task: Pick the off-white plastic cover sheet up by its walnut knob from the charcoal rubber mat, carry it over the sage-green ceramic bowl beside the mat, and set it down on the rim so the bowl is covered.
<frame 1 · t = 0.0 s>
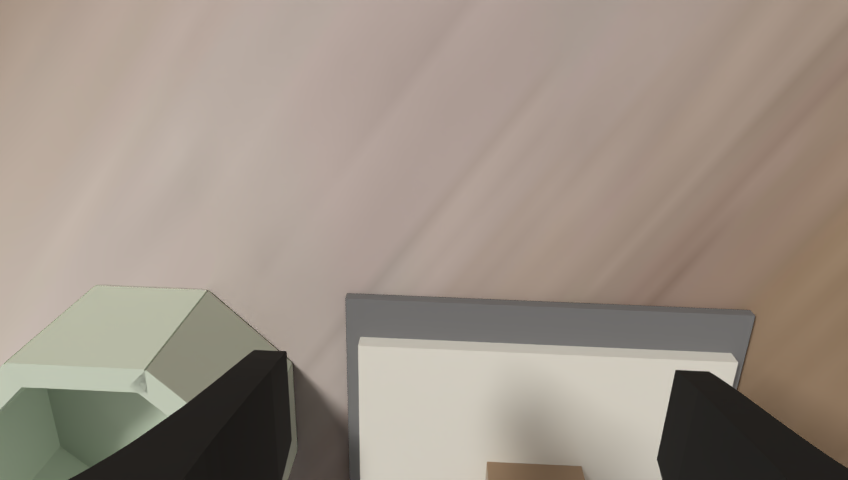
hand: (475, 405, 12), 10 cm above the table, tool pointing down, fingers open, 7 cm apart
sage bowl: (168, 402, 25), on the table
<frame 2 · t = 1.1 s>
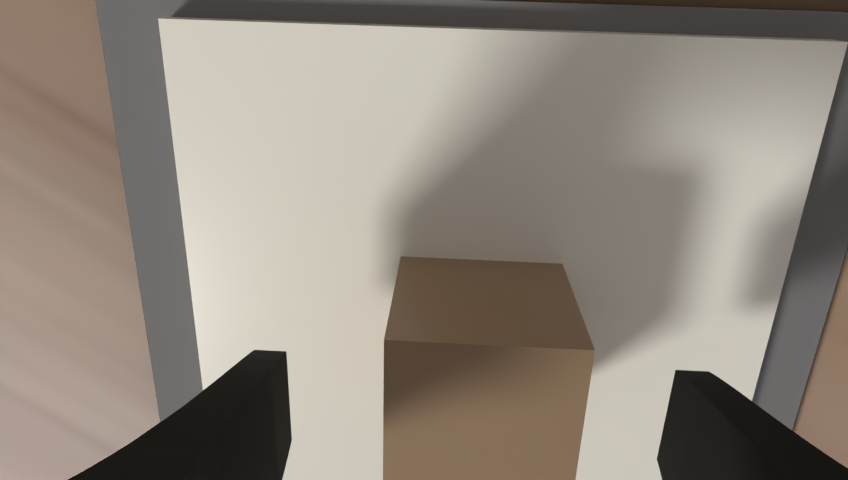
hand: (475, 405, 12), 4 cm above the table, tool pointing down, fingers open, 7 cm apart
charcoal mat: (475, 309, 15), on the table
cover sheet: (475, 317, 15), resting on charcoal mat
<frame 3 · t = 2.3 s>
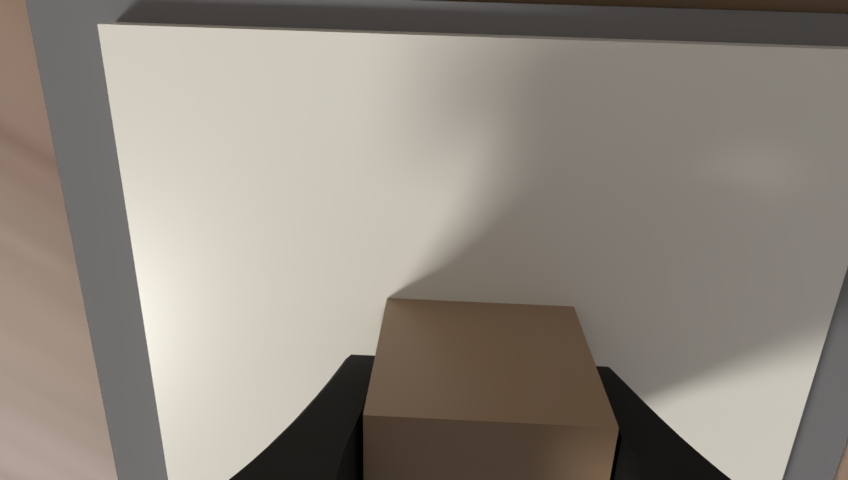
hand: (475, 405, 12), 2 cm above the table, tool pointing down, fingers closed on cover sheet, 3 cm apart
charcoal mat: (472, 353, 14), on the table
cover sheet: (473, 363, 13), resting on charcoal mat, touching gripper
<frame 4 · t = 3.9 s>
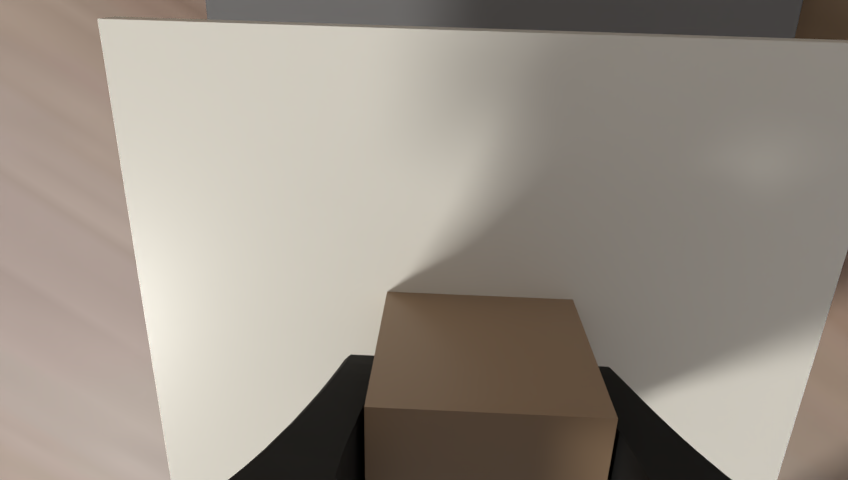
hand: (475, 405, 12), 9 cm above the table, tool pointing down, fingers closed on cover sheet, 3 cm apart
charcoal mat: (489, 153, 19), on the table
cover sheet: (473, 357, 13), point 7 cm above the table, touching gripper
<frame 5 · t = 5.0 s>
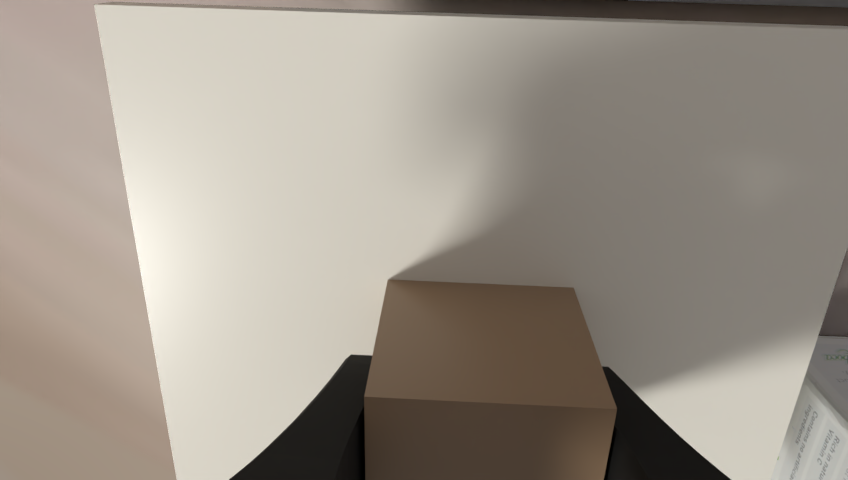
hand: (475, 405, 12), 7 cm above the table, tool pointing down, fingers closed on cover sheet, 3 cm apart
syrup box: (831, 406, 21), on the table
cover sheet: (473, 344, 13), point 6 cm above the table, touching gripper
when the fingers open (7 cm above the table, at t = 5.7 s): cover sheet stays where it is, resting on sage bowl.
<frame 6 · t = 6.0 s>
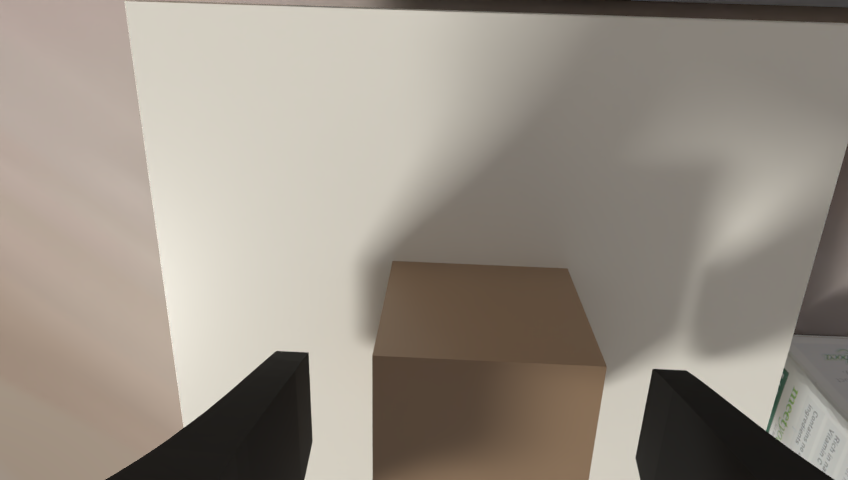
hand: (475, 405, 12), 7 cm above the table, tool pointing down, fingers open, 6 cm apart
syrup box: (832, 406, 21), on the table
cover sheet: (473, 326, 14), point 5 cm above the table, touching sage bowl
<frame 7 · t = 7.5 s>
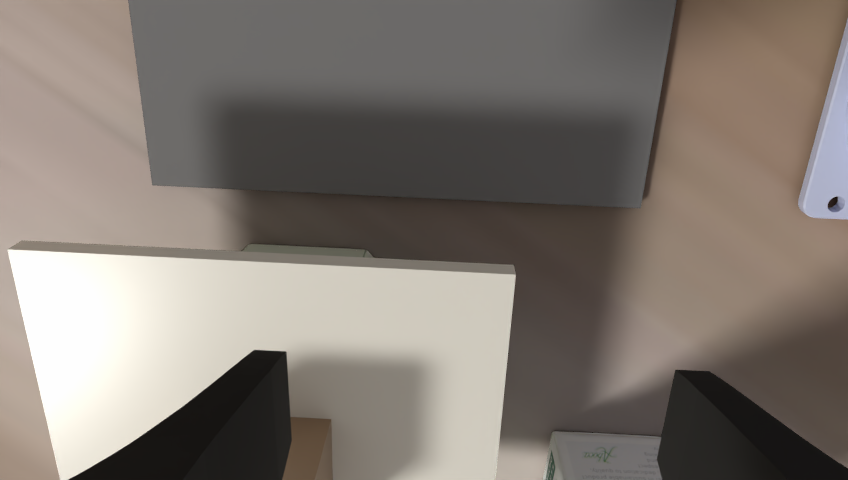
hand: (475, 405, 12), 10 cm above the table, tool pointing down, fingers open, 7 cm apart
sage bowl: (311, 366, 24), on the table
cover sheet: (278, 450, 19), point 5 cm above the table, touching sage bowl
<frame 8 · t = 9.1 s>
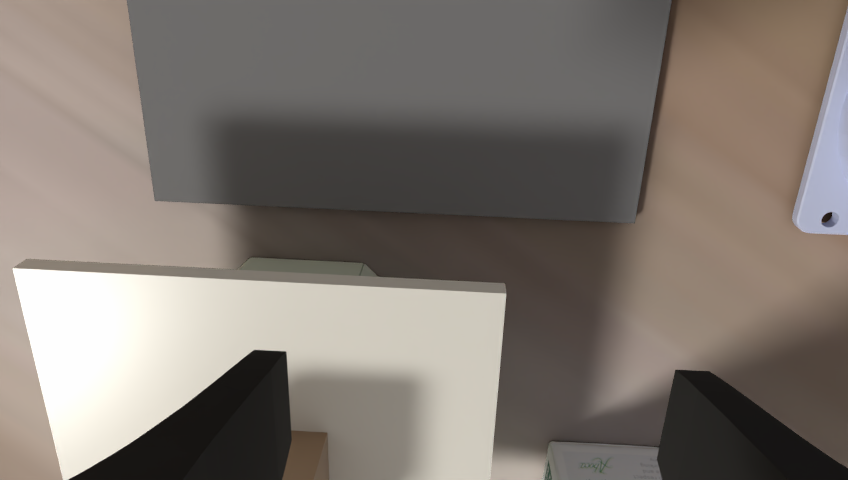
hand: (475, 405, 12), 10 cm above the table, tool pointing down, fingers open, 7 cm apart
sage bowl: (312, 377, 24), on the table
cover sheet: (276, 462, 20), point 5 cm above the table, touching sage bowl
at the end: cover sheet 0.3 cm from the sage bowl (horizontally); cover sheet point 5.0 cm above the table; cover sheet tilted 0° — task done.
